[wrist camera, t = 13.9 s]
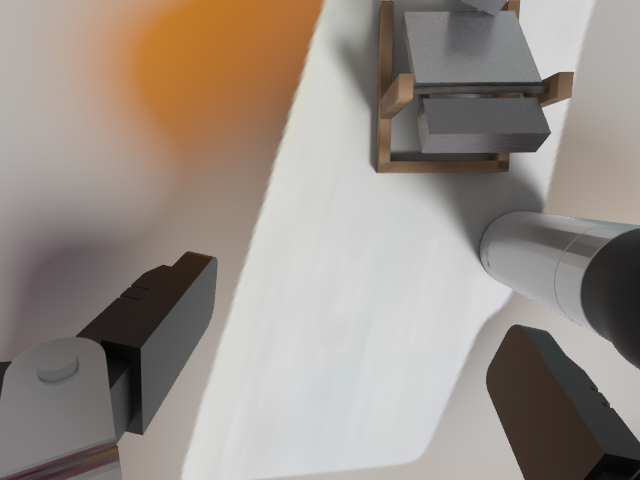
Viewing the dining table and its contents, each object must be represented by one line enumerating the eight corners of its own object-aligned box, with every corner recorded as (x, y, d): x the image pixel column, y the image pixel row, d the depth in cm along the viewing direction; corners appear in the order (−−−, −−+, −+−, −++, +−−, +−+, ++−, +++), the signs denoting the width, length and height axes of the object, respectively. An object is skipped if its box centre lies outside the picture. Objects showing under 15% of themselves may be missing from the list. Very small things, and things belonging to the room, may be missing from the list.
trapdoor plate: (541, 152, 32) (560, 128, 29) (416, 153, 32) (424, 129, 29) (501, 38, 38) (514, 10, 36) (398, 39, 38) (404, 11, 36)
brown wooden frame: (499, 171, 43) (565, 166, 31) (376, 173, 43) (396, 168, 31) (510, 9, 40) (585, -61, 29) (379, 10, 40) (402, -60, 29)
